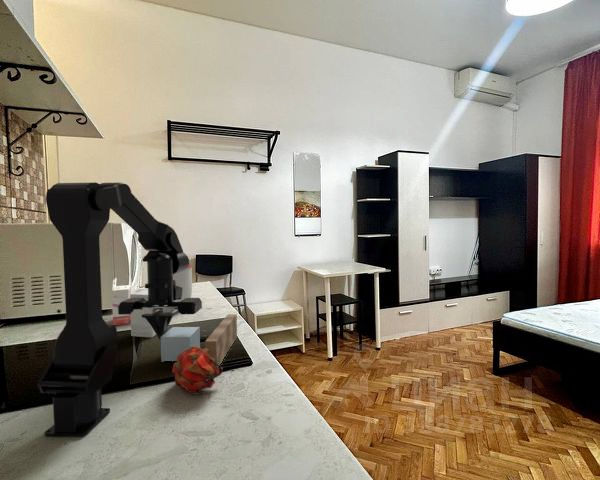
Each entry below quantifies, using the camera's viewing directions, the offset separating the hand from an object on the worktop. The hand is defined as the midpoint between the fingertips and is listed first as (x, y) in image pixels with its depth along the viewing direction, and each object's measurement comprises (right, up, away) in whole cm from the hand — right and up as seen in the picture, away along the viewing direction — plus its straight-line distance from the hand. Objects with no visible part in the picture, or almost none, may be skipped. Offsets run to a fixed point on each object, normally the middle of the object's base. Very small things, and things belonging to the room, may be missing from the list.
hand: (162, 339), depth 75 cm
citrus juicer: (-16, -2, +42) cm, 45 cm away
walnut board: (+15, -4, +1) cm, 16 cm away
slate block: (+5, -4, 0) cm, 6 cm away
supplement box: (-11, -4, +16) cm, 20 cm away
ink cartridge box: (-26, -3, +27) cm, 38 cm away
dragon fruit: (+14, -5, -15) cm, 21 cm away
